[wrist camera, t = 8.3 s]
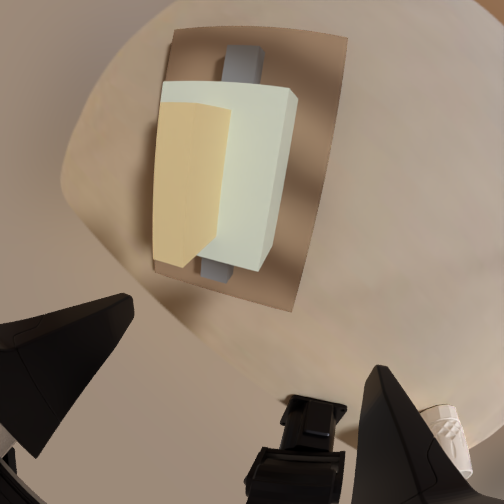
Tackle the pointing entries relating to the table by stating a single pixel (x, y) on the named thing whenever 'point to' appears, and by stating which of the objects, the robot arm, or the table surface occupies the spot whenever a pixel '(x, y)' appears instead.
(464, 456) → the white cup
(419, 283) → the table surface
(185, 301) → the table surface
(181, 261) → the sage block
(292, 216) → the board
